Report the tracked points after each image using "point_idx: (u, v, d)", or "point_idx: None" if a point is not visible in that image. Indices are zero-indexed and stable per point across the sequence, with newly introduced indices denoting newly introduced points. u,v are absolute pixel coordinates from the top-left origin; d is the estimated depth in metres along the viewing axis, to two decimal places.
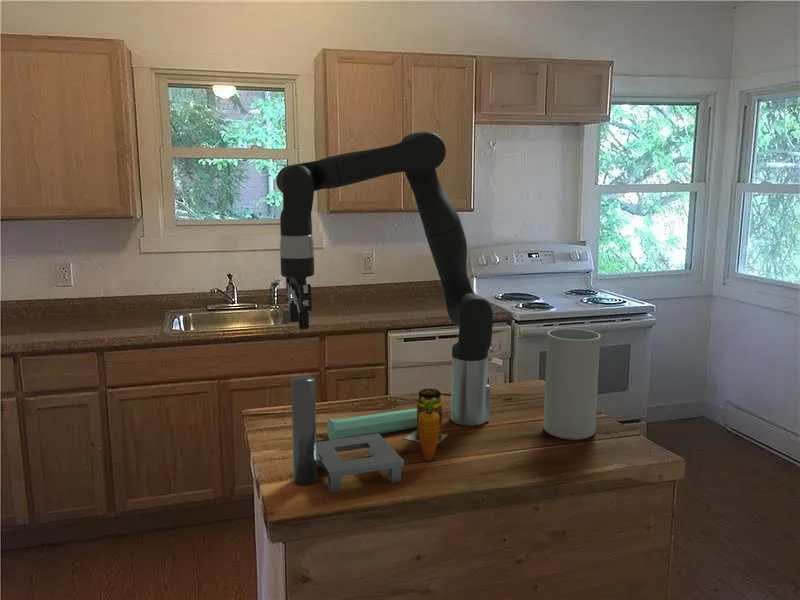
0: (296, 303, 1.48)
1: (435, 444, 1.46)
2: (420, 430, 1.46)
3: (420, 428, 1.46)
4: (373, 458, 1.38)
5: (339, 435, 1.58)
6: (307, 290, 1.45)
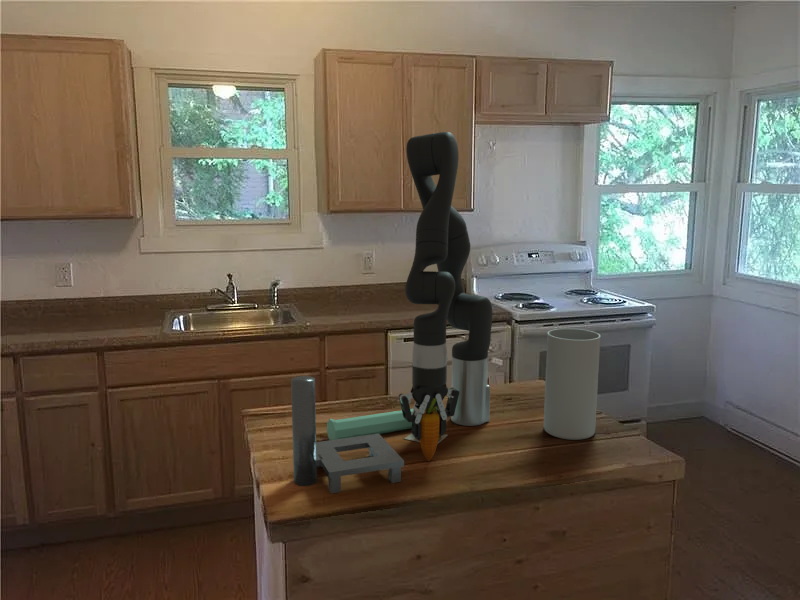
0: (442, 410, 1.46)
1: (435, 444, 1.46)
2: None
3: None
4: (373, 458, 1.38)
5: (339, 435, 1.58)
6: None
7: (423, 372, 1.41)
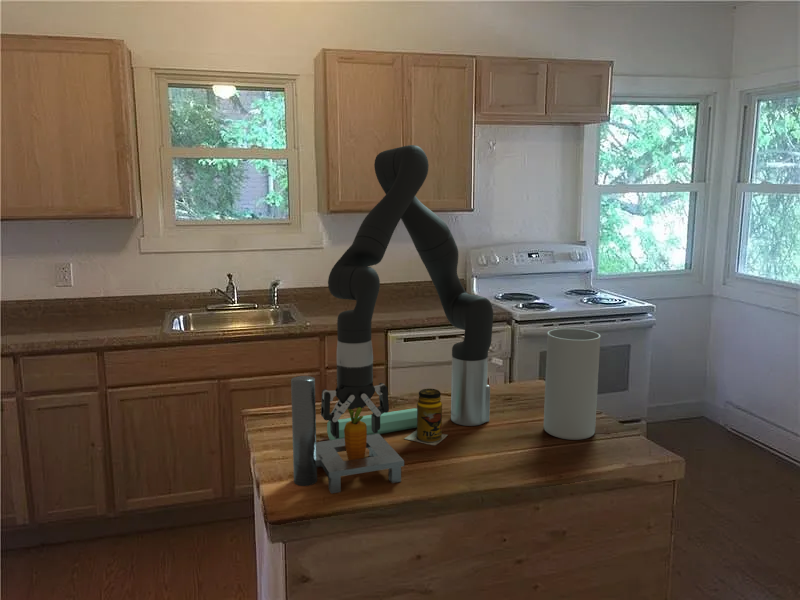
0: (373, 408, 1.40)
1: (362, 455, 1.40)
2: (346, 441, 1.40)
3: (346, 439, 1.40)
4: (373, 458, 1.38)
5: (339, 435, 1.58)
6: None
7: (346, 371, 1.35)
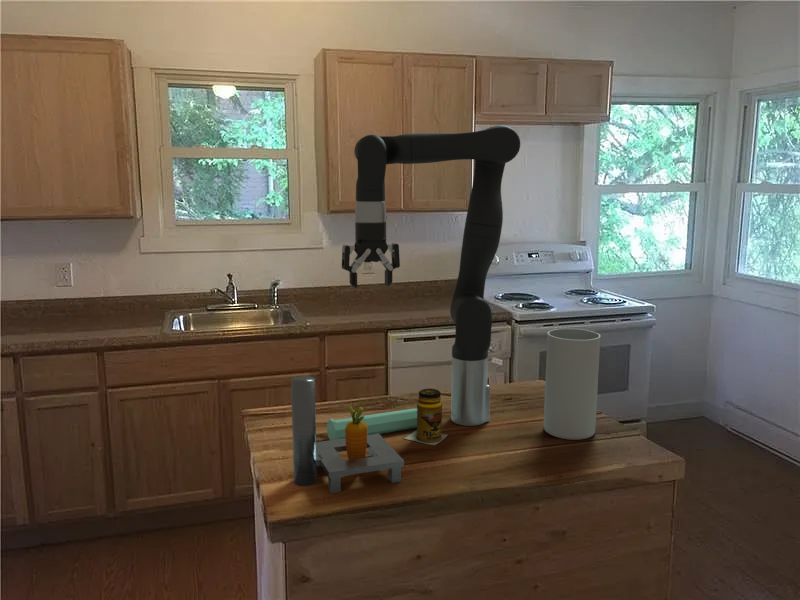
0: (387, 262, 1.62)
1: (362, 455, 1.40)
2: (347, 441, 1.40)
3: (347, 438, 1.40)
4: (373, 458, 1.38)
5: (339, 435, 1.58)
6: None
7: (364, 226, 1.57)
